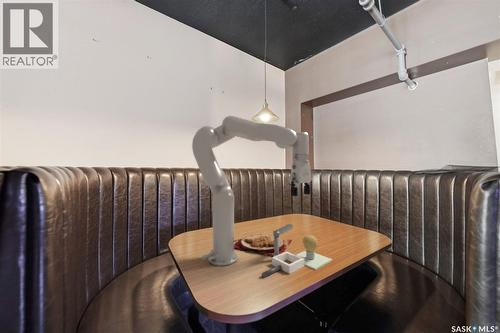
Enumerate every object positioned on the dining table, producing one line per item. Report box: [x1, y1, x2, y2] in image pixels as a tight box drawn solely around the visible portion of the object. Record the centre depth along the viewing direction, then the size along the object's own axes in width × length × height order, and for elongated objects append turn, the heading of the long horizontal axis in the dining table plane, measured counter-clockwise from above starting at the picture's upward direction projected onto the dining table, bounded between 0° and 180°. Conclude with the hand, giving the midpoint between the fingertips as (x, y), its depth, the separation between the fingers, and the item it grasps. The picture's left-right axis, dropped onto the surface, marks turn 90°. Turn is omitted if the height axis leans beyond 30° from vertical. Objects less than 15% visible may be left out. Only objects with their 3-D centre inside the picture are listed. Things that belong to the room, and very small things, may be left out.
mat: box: [295, 250, 333, 271], centre depth 86 cm, size 13×13×1 cm
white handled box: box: [261, 236, 305, 278], centre depth 79 cm, size 20×12×10 cm, turn 129°
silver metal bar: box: [272, 223, 294, 237], centre depth 92 cm, size 3×16×2 cm, turn 143°
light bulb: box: [302, 234, 319, 259], centre depth 87 cm, size 6×6×10 cm
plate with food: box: [234, 233, 293, 257], centre depth 105 cm, size 25×26×4 cm
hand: (300, 195), depth 91 cm, fingers open, 9 cm apart
